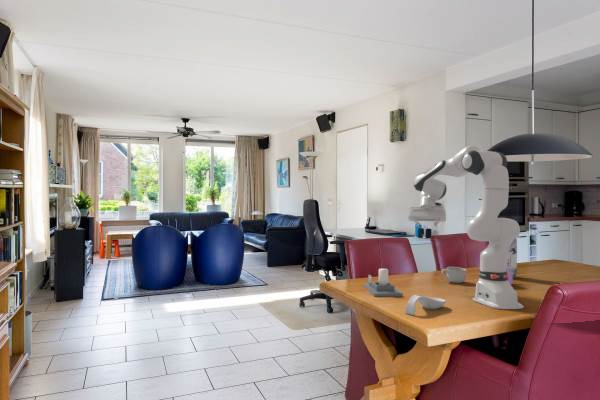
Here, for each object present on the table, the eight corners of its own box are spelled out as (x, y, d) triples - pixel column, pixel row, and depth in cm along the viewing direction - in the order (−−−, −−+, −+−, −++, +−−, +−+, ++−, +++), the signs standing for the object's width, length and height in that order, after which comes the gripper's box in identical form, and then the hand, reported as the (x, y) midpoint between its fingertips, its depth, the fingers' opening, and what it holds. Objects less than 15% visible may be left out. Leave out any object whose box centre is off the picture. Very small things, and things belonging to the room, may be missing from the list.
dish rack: (402, 296, 200) (402, 283, 200) (374, 296, 199) (374, 283, 199) (388, 285, 224) (388, 273, 224) (363, 285, 223) (363, 274, 223)
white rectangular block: (389, 289, 208) (390, 269, 208) (382, 290, 206) (382, 270, 206) (384, 287, 212) (384, 268, 212) (376, 288, 210) (376, 268, 210)
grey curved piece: (426, 302, 189) (426, 287, 189) (450, 307, 180) (450, 291, 180) (397, 312, 172) (397, 295, 172) (423, 318, 164) (423, 300, 164)
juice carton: (500, 278, 246) (501, 233, 246) (498, 275, 256) (498, 232, 256) (517, 279, 243) (517, 234, 243) (514, 276, 253) (514, 232, 253)
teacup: (463, 280, 239) (463, 266, 239) (468, 284, 228) (469, 270, 228) (438, 279, 240) (438, 266, 240) (443, 283, 229) (443, 269, 229)
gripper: (408, 203, 236) (407, 221, 226) (446, 203, 229) (446, 222, 220) (409, 211, 240) (407, 228, 231) (445, 211, 233) (446, 229, 224)
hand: (426, 225), depth 225 cm, fingers open, 8 cm apart
